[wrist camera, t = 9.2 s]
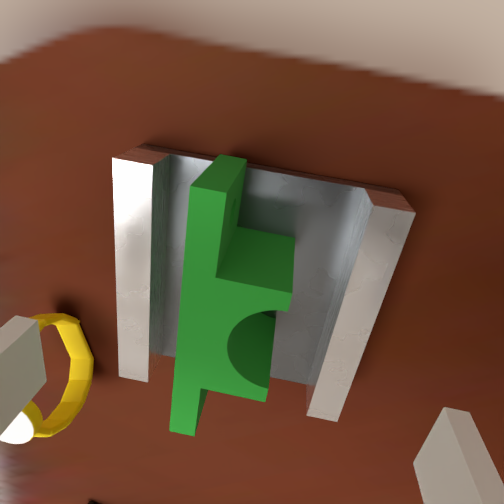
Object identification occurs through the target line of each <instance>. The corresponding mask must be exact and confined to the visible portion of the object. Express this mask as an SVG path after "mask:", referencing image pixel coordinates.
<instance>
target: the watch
mask: <svg viewBox="0 0 504 504" xmlns="http://www.w3.org/2000/svg"><path fill="white" fill-rule="evenodd" d="M30 319H35V320H38V325H39V332H40V331H41V330H42V329H43V328H44V327H45V326H47V325H50V324H54V325H56V327H57V329H58V331H59V333H60V335H61V338H62V340H63V342H64V344H65V346H66V349H67V351H68V353H69V355H70V357H71V364H70V375H69V382H68V384H67V387H66V389H65V392H64V394H63V397H62V399H61V402H60V404H59V405H58V406H57V407H56V409H55V410H54V411H53V412H52V413H51V415H50V416H49V417H48V418H47V420H44V421H43V417H42V414H41V411H40V410H39V408H38V407H37V405H36V404H35V403H34V402H32V401H31V400H30V401H29V403H28V404H27V405H26V406H25V407H24V409H23V410H22V411H21V412H20V413H19V414H18V416H17V417H16V418H15V419H14V420H13V422H12V423H11V424H10V425H9V426H8V427H7V429H6V430H5V431H4V432H3V433H2V435H1V436H0V440H1V441H4V442H7V443H12V444H22V443H25V442H27V441H30V440H31V439H32V438H33V437H48V436H52V435H54V434H56V433H57V432H59V431H61V430H63V429H64V428H66V427H67V426H68V425H69V424H70V423H71V422H72V420H73V419H74V418H75V416H76V415H77V414H78V412H79V411H80V409H81V408H82V407H83V404H84V403H85V400H86V397H87V394H88V391H89V389H90V386H91V383H92V382H91V380H92V377H93V364H94V357H93V355H92V353H91V351H90V348H89V346H88V343H87V341H86V339H85V336H84V334H83V331H82V329H81V327H80V324H79V323H80V320H78V319H77V318H75V317H72V316H69V315H67V314H64V313H53V314H39V315H36V316H33V317H30Z"/></svg>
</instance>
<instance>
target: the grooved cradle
mask: <svg viewBox="0 0 504 504" xmlns="http://www.w3.org/2000/svg"><path fill="white" fill-rule="evenodd" d="M216 158H217V157H214V156H208V155H202V154H197V153H191V152H185V151H180V150H174V149H169V148H163V147H157V146H152V145H146V144H141V145H139V146H137V147H135V148H133V149H131V150H129V151H126V152H124V153H122V154H120V155H118V156H116V157H114V158H112V160H113V193H114V226H115V259H116V293H117V326H118V359H119V376H120V377H124V378H129V379H134V380H139V381H144V382H149V380H150V377H151V375H152V373H153V371H154V369H155V367H156V365H157V363H158V361H159V359H160V357H161V355H166V356H171V357H176V346H177V334H178V322H179V310H180V298H181V286H182V274H183V262H184V250H185V238H186V226H187V214H188V202H189V190H190V185H191V184H192V183H193V182H194V181H195V180H196V179H197V178H198V177H199V176H200V175H201V174H202V173H203V172H204V170H205V169H206V168H207V167H208V166H209V165H210V164H211V163H212V162H213V161H214V160H215V159H216ZM415 214H416V213H415V211H414V210H413V209H412V207H411V206H410V205H409V203H408V202H407V201H406V199H405V198H404V197H403V195H402V194H401V193H400V191H399V190H398V189H393V188H388V187H382V186H376V185H371V184H365V183H360V182H354V181H348V180H343V179H337V178H332V177H326V176H320V175H315V174H309V173H303V172H298V171H292V170H287V169H281V168H275V167H270V166H264V165H258V164H253V163H247V164H246V170H245V177H244V183H243V190H242V196H241V203H240V209H239V216H238V222H237V226H238V227H243V228H248V229H253V230H258V231H263V232H268V233H273V234H278V235H283V236H288V237H293V238H295V253H294V273H293V293H292V297H291V301H290V305H289V309H288V312H287V311H280V310H269V311H262V312H261V313H263V314H264V315H266V316H269V317H271V318H275V319H276V324H275V333H274V342H273V352H272V361H271V370H270V377H273V378H278V379H283V380H288V381H293V382H298V383H303V384H306V394H307V416H312V417H316V418H321V419H326V420H331V421H336V422H337V421H338V418H339V415H340V413H341V410H342V407H343V405H344V402H345V399H346V397H347V394H348V392H349V389H350V386H351V384H352V381H353V378H354V376H355V373H356V370H357V368H358V365H359V362H360V360H361V357H362V354H363V352H364V349H365V346H366V344H367V341H368V338H369V336H370V333H371V331H372V328H373V325H374V323H375V320H376V317H377V315H378V312H379V309H380V307H381V304H382V301H383V299H384V296H385V293H386V291H387V288H388V285H389V283H390V280H391V277H392V275H393V272H394V270H395V267H396V264H397V262H398V259H399V256H400V254H401V251H402V248H403V246H404V243H405V240H406V238H407V235H408V232H409V230H410V227H411V224H412V222H413V219H414V216H415Z"/></svg>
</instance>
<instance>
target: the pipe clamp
mask: <svg viewBox="0 0 504 504" xmlns="http://www.w3.org/2000/svg"><path fill="white" fill-rule="evenodd" d="M246 164H247V159H243V158H238V157H233V156H227V155H222V154H220V155H219V156H218V157H217V158H216V159H215V160H214V161H213V162H212V163H211V164H210V165H209V166H208V167H207V168H206V169H205V170H204V172H203V173H202V174H201V175H200V176H199V177H198V178H197V179H196V180H195V181H194V182H193V183H192V184H191V185H190V190H189V202H188V214H187V226H186V238H185V250H184V262H183V274H182V286H181V298H180V310H179V322H178V334H177V346H176V358H175V370H174V382H173V394H172V406H171V418H170V430H169V431H172V432H177V433H181V434H186V435H190V436H195V433H196V429H197V426H198V422H199V419H200V416H201V412H202V409H203V405H204V402H205V399H206V395H207V392H208V390H212V391H216V392H221V393H226V394H230V395H235V396H239V397H244V398H249V399H253V400H258V401H263V402H265V400H266V396H267V392H268V388H269V379H270V370H271V361H272V352H273V342H274V333H275V324H276V319H275V318H271V317H269V316H266V315H264V314H263V313H261V312H262V311H269V310H280V311H287V312H288V309H289V305H290V301H291V297H292V293H293V273H294V253H295V238H293V237H288V236H283V235H278V234H273V233H268V232H263V231H258V230H253V229H248V228H243V227H238V226H237V222H238V216H239V209H240V203H241V196H242V190H243V183H244V177H245V170H246Z"/></svg>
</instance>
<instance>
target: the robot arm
mask: <svg viewBox="0 0 504 504" xmlns="http://www.w3.org/2000/svg"><path fill="white" fill-rule="evenodd" d="M46 381H47V380H46V373H45V366H44V359H43V353H42V346H41V339H40V332H39V325H38V320H35V319H30V318H25V317H21V316H14V317H13V318H12V319H11V320H10V321H8V322H7V323H6V324H5V325H4V326H2V327H1V328H0V436H1V435H2V433H3V432H4V431H5V430H6V429H7V427H8V426H9V425H10V424H11V423H12V422H13V420H14V419H15V418H16V417H17V416H18V414H19V413H20V412H21V411H22V410H23V409H24V407H25V406H26V405H27V404H28V403H29V401H30V400H31V399H32V398H33V397H34V396H35V394H36V393H37V392H38V391H39V390H40V389H41V387H42V386H43V385H44V384H45V383H46ZM413 464H414V468H415V472H416V476H417V479H418V483H419V487H420V491H421V494H422V498H423V502H424V504H504V485H503V483H502V481H501V478H500V476H499V474H498V472H497V470H496V468H495V466H494V464H493V461H492V459H491V457H490V455H489V453H488V451H487V449H486V447H485V444H484V442H483V440H482V438H481V436H480V434H479V432H478V430H477V427H476V425H475V423H474V421H473V419H472V417H471V415H470V413H469V412H466V411H461V410H456V409H452V408H447V407H444V408H443V410H442V411H441V413H440V415H439V417H438V419H437V420H436V422H435V424H434V426H433V428H432V430H431V431H430V433H429V435H428V437H427V439H426V440H425V442H424V444H423V446H422V448H421V450H420V451H419V453H418V455H417V457H416V459H415V460H414V462H413Z"/></svg>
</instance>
